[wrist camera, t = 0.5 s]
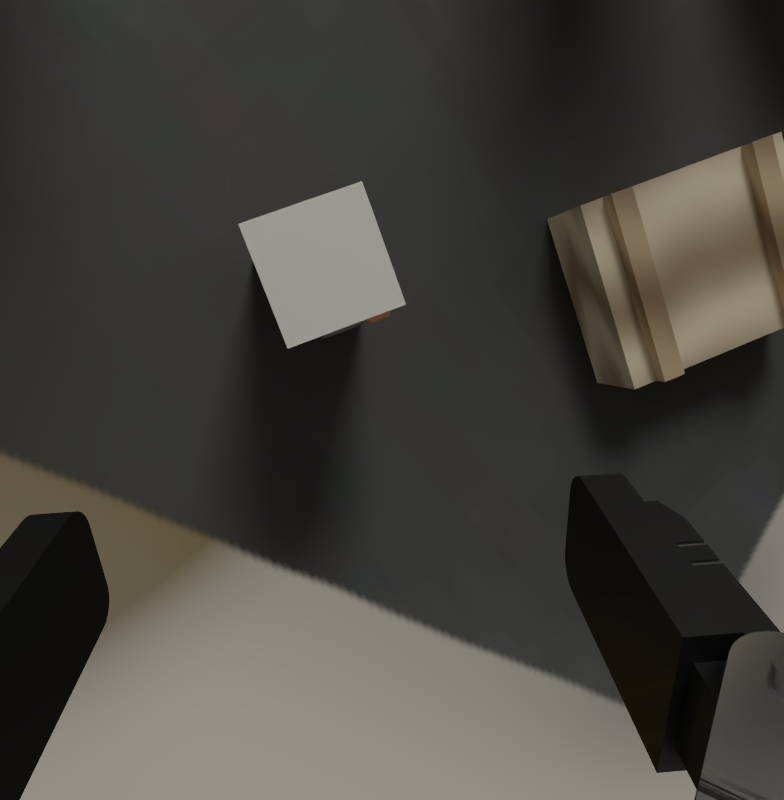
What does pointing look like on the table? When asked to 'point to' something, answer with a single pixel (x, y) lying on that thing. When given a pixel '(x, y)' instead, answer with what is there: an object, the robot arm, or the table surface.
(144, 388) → the table surface
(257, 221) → the tall grey box
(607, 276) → the brown wooden ridged block
